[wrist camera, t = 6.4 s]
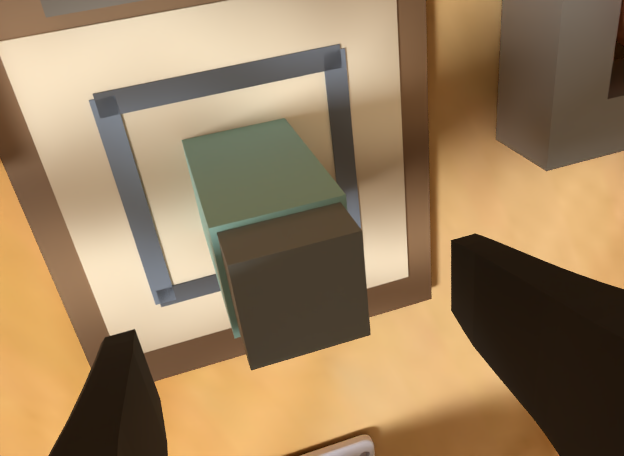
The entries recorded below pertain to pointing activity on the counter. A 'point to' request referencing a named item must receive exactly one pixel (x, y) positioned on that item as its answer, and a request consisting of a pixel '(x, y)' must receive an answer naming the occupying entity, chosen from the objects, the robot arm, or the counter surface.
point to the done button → (621, 26)
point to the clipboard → (197, 122)
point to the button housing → (560, 81)
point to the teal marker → (279, 242)
